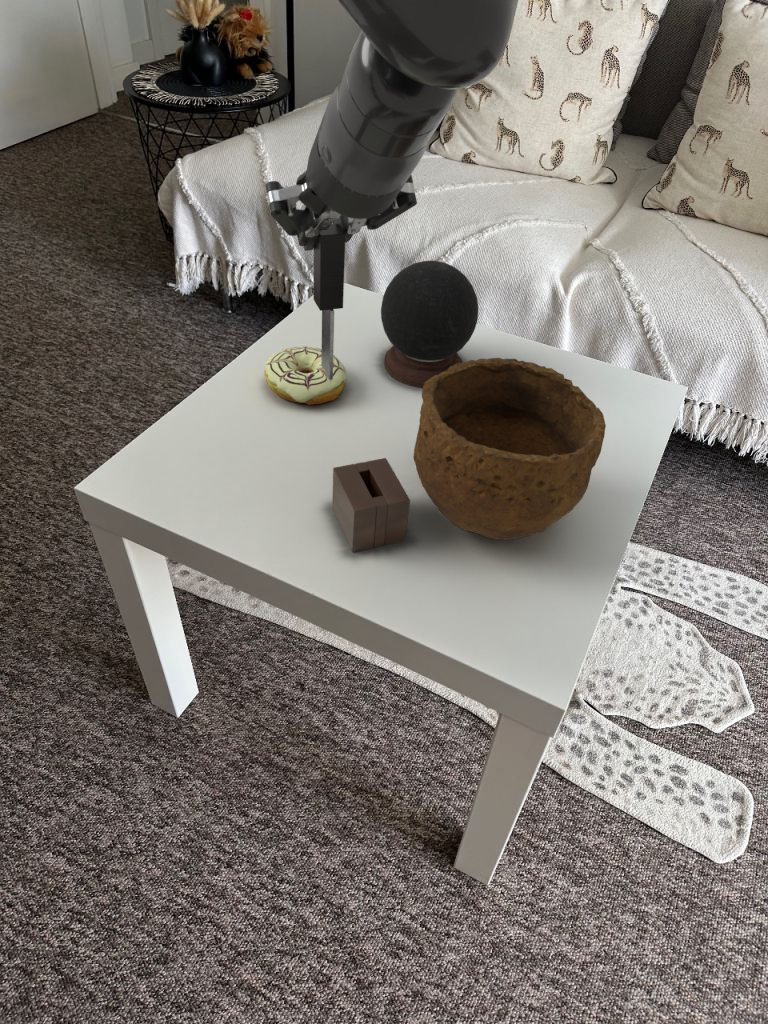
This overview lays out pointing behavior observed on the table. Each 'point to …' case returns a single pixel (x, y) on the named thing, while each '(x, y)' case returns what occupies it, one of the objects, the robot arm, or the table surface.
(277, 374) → the decorated donut
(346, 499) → the knife block
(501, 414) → the bowl
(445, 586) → the table surface
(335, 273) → the knife
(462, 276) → the black ball on stand
